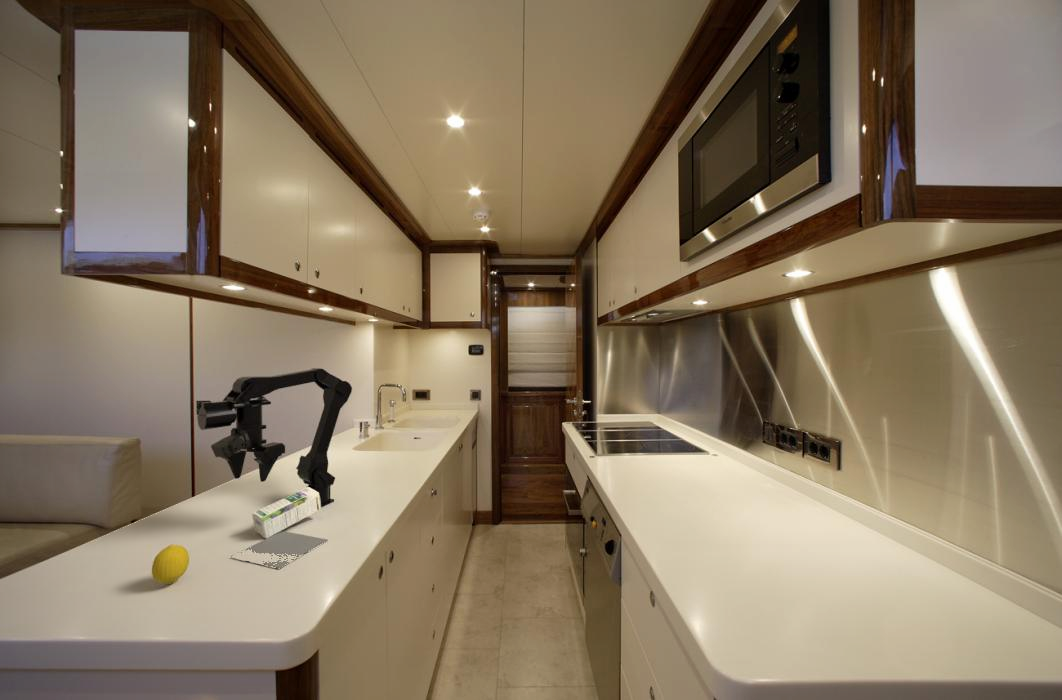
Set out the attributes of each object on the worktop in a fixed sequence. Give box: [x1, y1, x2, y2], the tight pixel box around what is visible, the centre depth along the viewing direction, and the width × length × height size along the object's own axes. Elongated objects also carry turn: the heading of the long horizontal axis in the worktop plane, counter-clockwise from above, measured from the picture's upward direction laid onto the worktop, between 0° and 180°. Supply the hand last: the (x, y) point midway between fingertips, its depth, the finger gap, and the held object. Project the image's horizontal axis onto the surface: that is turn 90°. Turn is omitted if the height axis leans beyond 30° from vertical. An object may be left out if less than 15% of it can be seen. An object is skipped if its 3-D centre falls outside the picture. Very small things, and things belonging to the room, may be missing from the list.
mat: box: [230, 530, 328, 569], centre depth 90 cm, size 13×15×1 cm
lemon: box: [151, 544, 190, 585], centre depth 77 cm, size 6×6×8 cm
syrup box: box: [252, 486, 322, 539], centre depth 102 cm, size 6×6×14 cm
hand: (250, 479), depth 102 cm, fingers open, 9 cm apart
